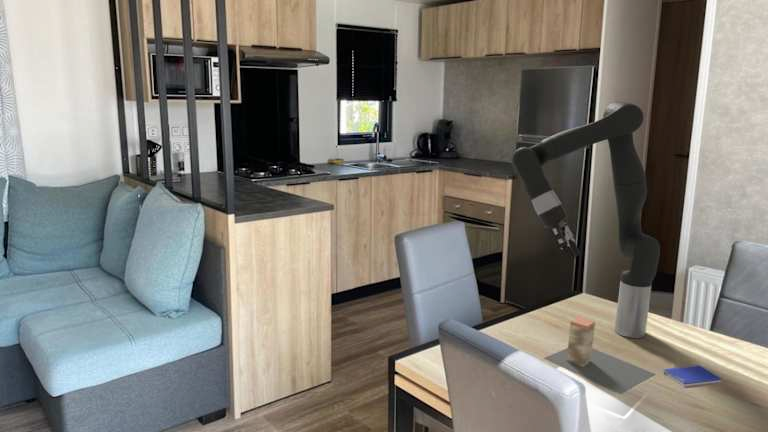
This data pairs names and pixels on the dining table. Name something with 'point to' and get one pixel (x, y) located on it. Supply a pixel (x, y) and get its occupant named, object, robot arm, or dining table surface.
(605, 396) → the dining table surface
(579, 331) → the birch block
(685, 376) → the hard drive
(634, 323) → the robot arm
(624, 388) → the rubber mat
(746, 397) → the dining table surface
